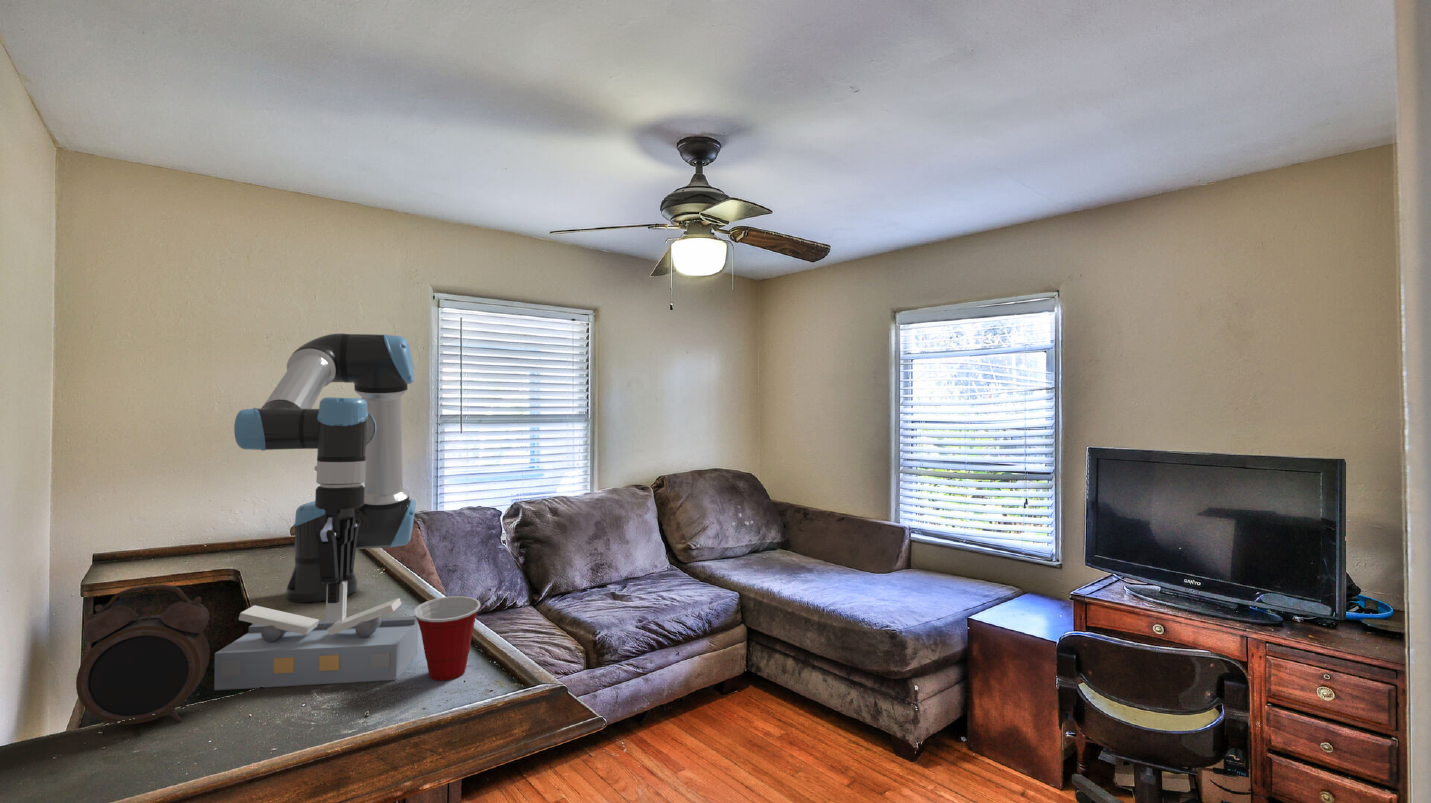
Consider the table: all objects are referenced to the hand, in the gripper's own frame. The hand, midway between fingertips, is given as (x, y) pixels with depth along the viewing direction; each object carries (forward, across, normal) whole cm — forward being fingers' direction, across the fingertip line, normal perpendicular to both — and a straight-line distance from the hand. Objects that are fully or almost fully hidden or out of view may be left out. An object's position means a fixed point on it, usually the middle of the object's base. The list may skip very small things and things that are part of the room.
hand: (335, 619), depth 115 cm
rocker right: (+3, 0, +6) cm, 6 cm away
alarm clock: (+10, +17, -19) cm, 27 cm away
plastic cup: (+9, +4, +20) cm, 22 cm away
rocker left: (+3, 0, -10) cm, 10 cm away
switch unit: (+9, 0, -2) cm, 9 cm away
